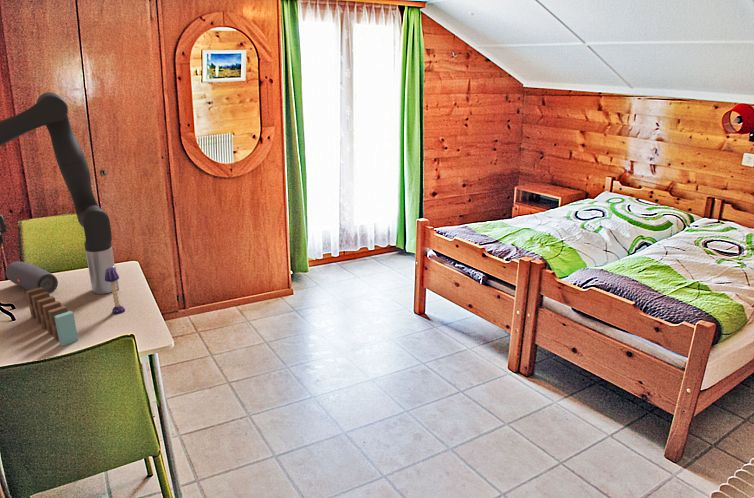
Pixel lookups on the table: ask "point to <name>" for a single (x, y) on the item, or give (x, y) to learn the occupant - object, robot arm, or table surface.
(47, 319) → the domino
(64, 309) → the domino
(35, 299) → the domino
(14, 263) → the bluetooth speaker
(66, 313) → the domino
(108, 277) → the toy lamp
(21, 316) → the table surface
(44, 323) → the domino
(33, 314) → the domino
